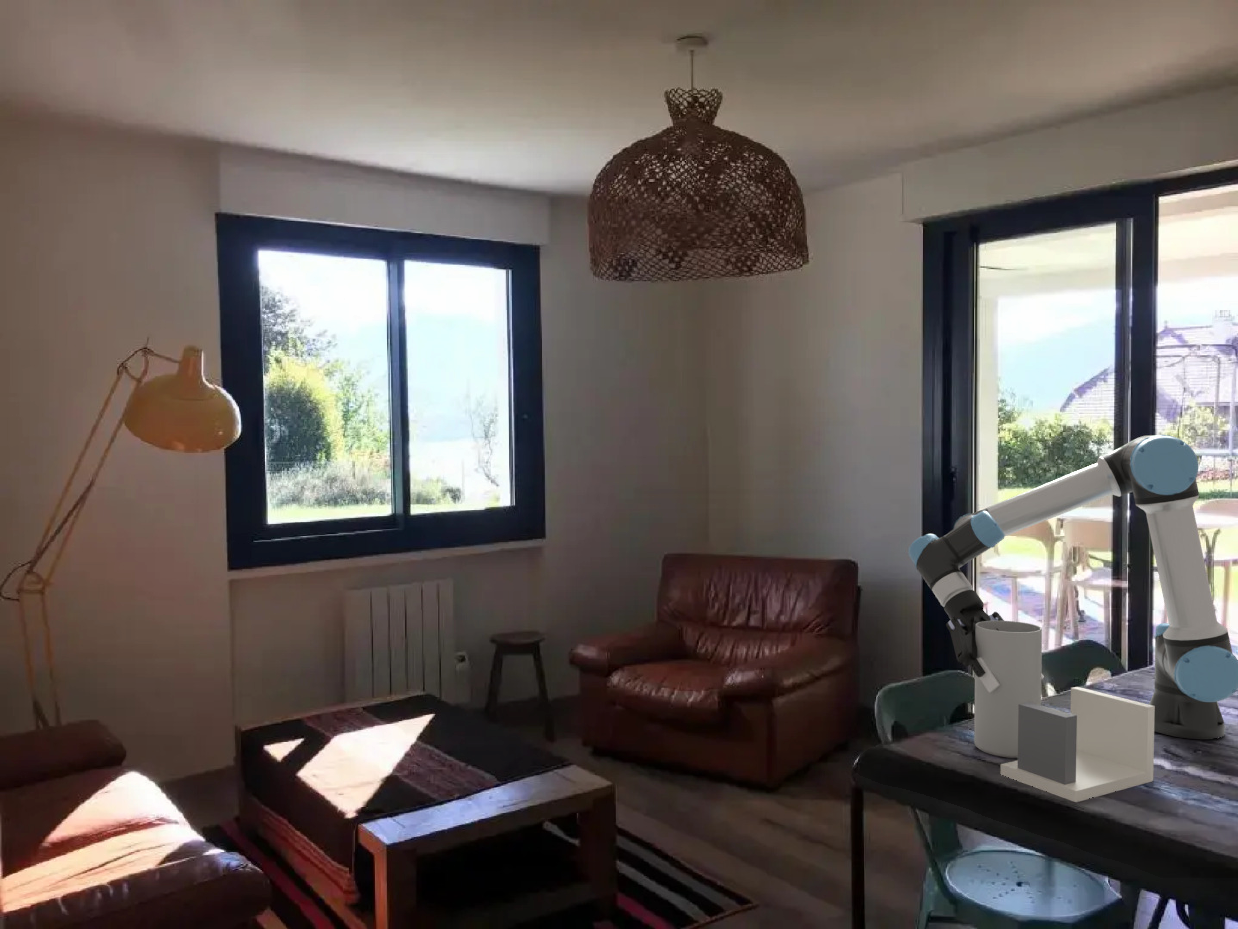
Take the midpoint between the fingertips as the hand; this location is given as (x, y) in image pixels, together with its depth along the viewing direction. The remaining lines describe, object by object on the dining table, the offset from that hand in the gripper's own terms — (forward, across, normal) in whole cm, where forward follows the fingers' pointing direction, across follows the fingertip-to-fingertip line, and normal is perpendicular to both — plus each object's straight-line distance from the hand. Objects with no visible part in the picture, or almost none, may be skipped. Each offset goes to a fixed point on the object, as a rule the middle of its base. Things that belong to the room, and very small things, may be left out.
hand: (1017, 685), depth 199 cm
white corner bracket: (+20, +2, +1) cm, 20 cm away
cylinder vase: (+8, 0, -11) cm, 14 cm away
